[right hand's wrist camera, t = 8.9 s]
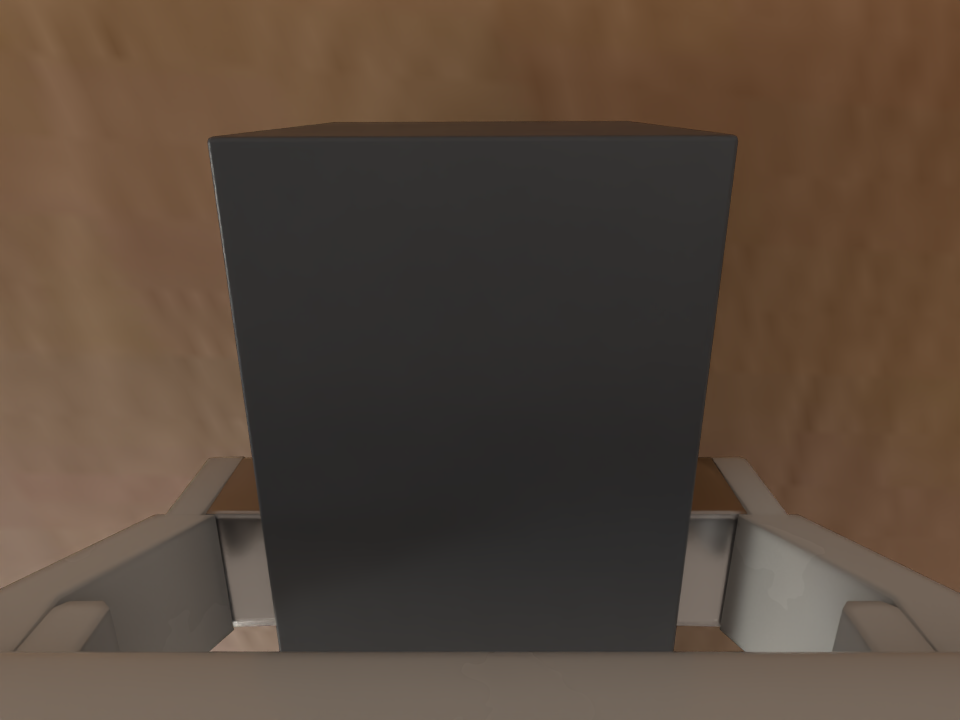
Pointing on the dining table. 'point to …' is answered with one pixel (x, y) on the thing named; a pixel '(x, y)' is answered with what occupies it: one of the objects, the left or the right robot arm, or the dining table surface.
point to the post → (474, 375)
